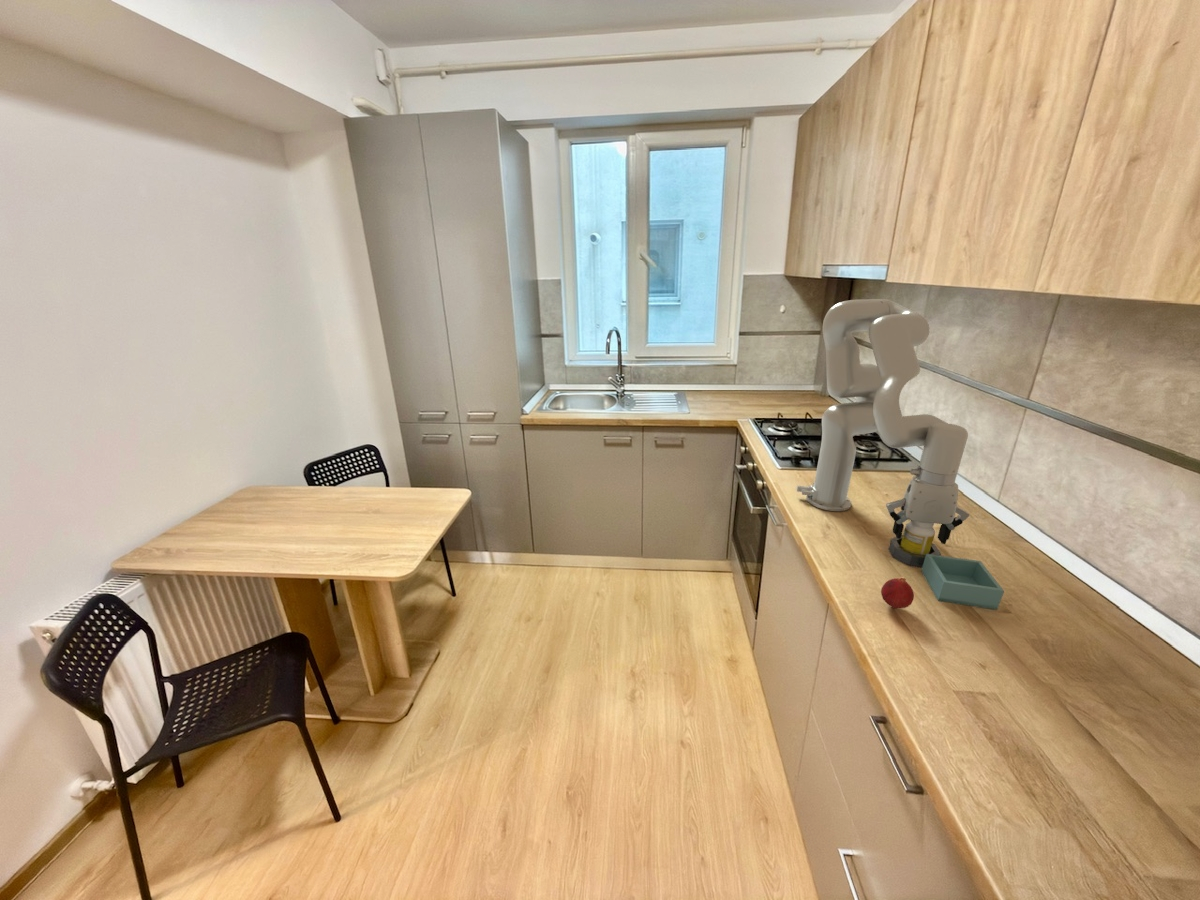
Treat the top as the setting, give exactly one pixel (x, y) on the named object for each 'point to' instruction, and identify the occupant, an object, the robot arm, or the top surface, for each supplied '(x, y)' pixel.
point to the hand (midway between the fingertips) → (918, 538)
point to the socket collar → (909, 553)
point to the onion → (897, 593)
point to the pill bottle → (918, 537)
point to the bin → (961, 581)
